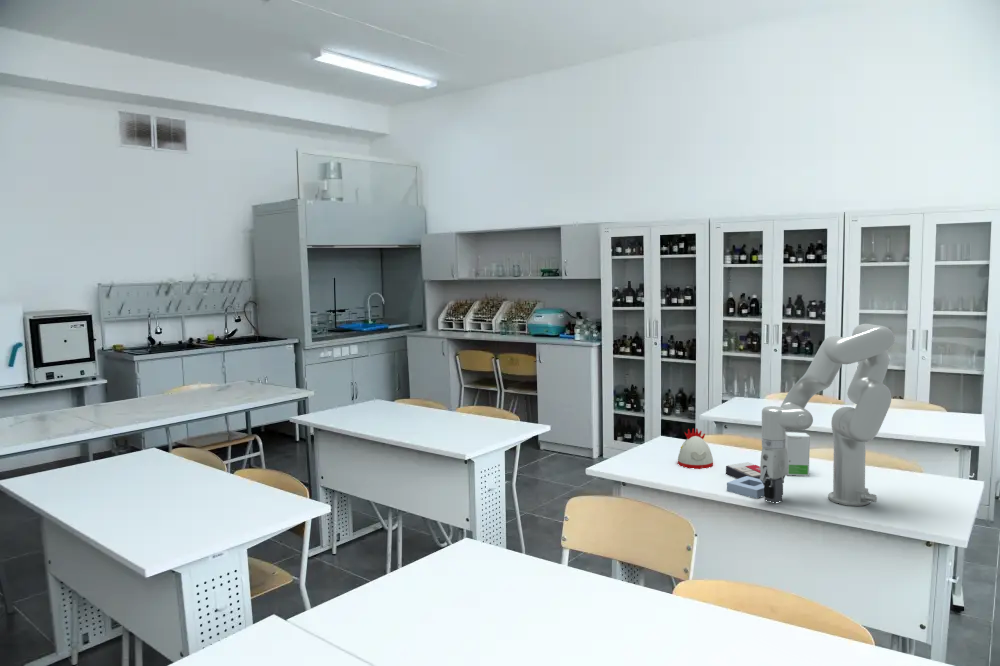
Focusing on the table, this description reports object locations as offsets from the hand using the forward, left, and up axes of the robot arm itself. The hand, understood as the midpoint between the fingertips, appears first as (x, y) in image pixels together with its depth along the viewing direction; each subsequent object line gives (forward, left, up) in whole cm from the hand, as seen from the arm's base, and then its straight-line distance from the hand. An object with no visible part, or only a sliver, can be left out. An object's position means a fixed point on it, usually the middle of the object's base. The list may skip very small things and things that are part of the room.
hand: (773, 495), depth 231 cm
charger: (0, 0, -2) cm, 2 cm away
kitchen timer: (+46, -18, -2) cm, 49 cm away
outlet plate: (+11, -4, -2) cm, 12 cm away
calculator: (+21, -18, -3) cm, 28 cm away
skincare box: (+12, -35, -2) cm, 37 cm away
